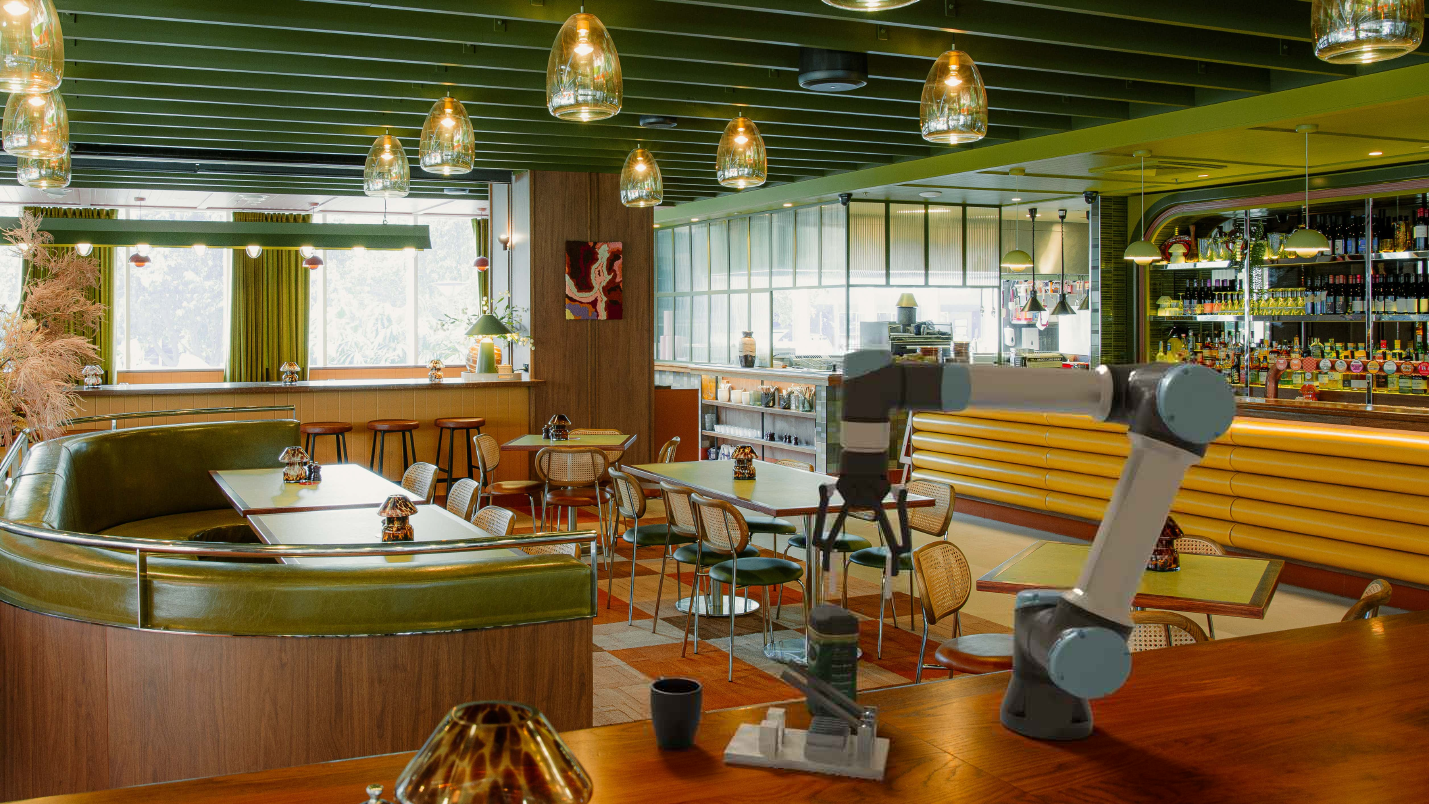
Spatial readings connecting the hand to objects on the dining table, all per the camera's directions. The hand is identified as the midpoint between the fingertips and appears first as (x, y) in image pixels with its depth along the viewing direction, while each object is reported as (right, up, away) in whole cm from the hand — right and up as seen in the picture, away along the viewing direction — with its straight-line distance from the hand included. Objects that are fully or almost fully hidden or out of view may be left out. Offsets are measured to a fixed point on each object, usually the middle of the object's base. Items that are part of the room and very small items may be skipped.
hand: (860, 594), depth 169 cm
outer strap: (-6, -16, -4) cm, 18 cm away
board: (-8, -25, 0) cm, 26 cm away
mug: (-29, -25, +5) cm, 39 cm away
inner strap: (-5, -16, +2) cm, 17 cm away
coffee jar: (-2, -24, +19) cm, 31 cm away
